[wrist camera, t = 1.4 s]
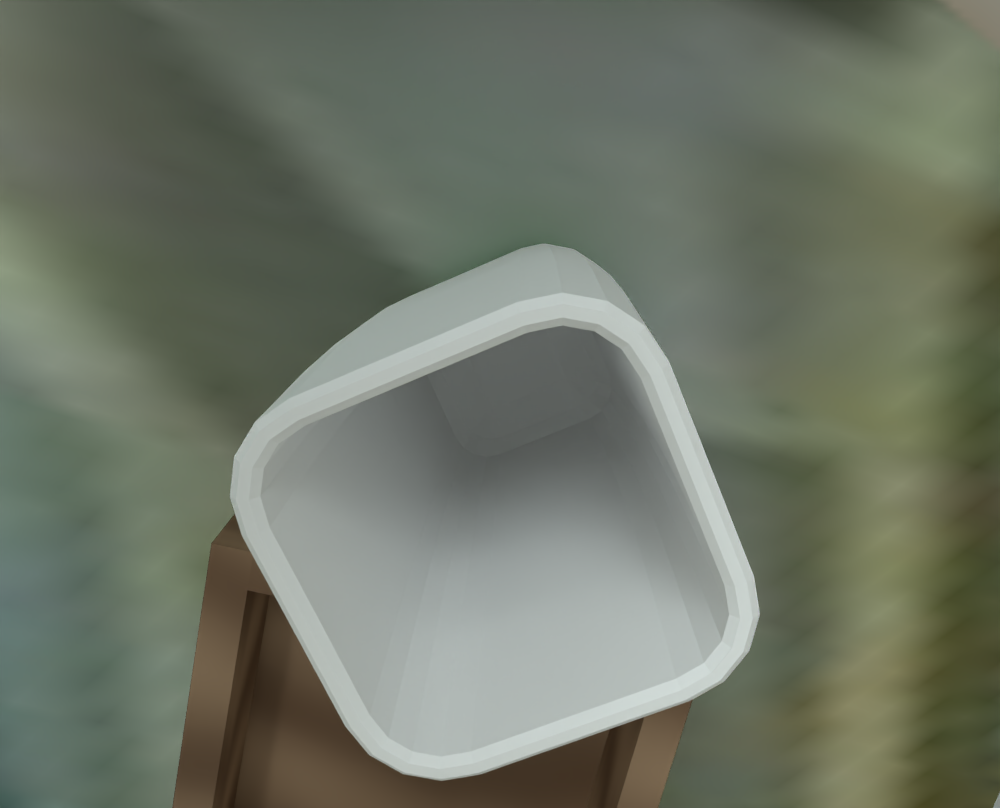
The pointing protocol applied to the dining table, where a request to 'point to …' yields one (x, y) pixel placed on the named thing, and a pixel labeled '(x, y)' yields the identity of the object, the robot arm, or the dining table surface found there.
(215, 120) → the dining table surface
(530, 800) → the tray
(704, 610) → the cup
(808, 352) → the dining table surface
